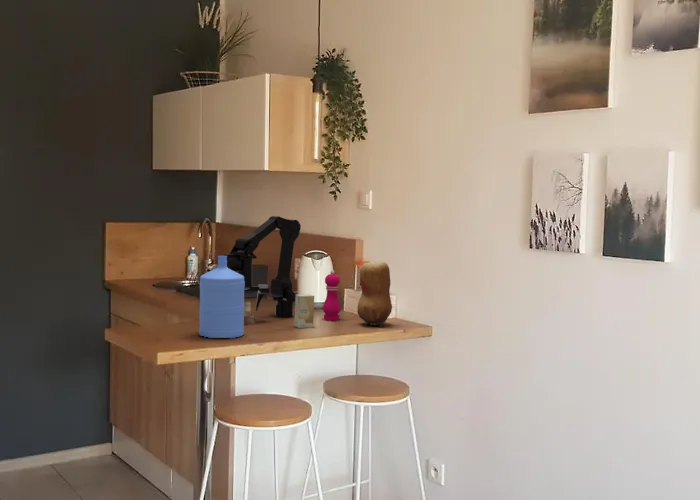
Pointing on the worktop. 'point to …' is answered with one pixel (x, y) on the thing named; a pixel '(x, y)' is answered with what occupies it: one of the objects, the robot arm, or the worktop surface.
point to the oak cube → (247, 309)
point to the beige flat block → (249, 319)
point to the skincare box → (304, 311)
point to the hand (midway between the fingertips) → (244, 310)
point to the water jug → (222, 302)
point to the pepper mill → (331, 298)
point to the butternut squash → (375, 293)
